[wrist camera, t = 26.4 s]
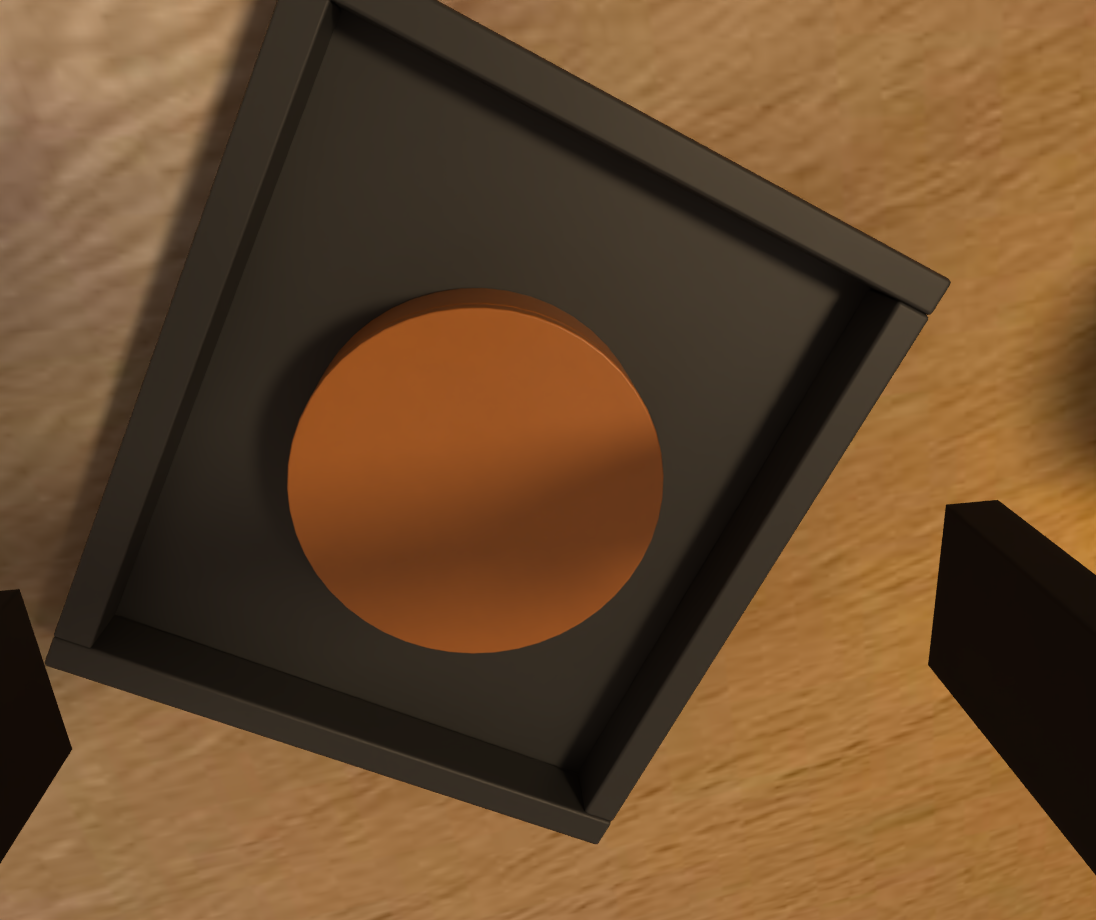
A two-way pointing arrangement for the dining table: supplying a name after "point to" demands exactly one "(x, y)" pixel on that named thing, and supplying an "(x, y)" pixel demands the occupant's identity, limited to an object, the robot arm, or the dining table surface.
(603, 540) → the lid
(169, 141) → the dining table surface
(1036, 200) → the dining table surface
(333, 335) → the tray
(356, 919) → the dining table surface
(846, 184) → the dining table surface
